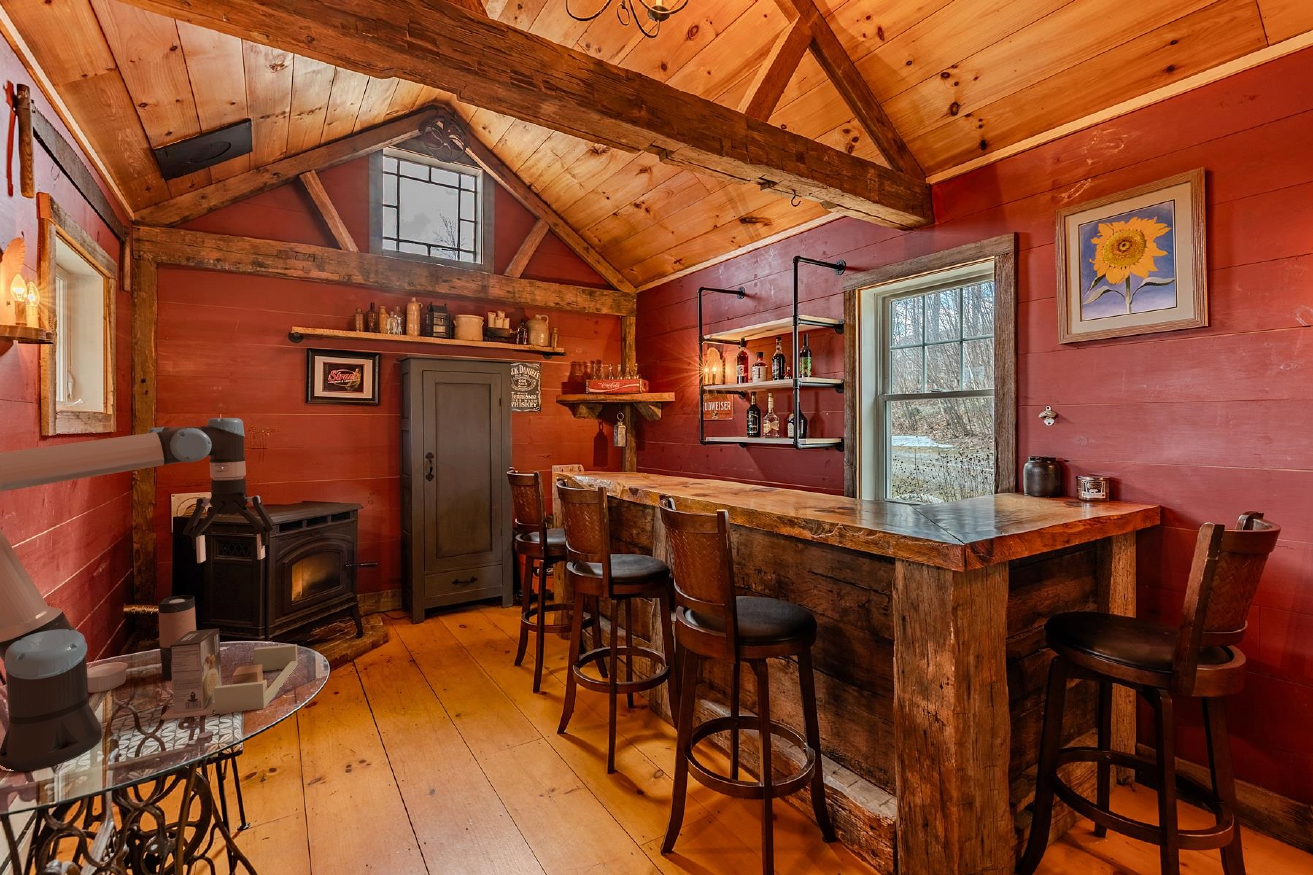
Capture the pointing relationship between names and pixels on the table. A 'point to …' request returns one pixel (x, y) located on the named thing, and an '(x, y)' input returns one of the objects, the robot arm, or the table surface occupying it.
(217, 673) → the coffee box
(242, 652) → the table surface
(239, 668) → the offcut top
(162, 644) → the travel mug
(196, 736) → the table surface
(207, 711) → the plate
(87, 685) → the robot arm
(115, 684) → the round wooden block
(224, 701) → the rack
